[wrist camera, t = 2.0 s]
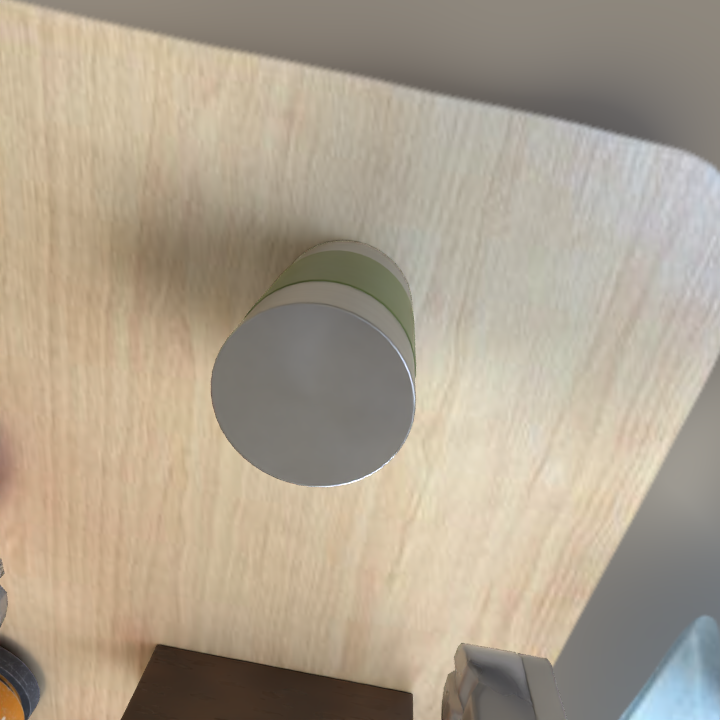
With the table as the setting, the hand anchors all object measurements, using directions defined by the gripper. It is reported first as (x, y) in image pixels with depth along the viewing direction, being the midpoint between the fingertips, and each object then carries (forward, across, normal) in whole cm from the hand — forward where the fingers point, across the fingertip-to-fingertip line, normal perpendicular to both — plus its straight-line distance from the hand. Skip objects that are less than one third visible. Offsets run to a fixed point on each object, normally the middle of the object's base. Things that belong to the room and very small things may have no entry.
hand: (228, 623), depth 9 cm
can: (+18, 0, 0) cm, 18 cm away
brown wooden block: (+18, 0, +29) cm, 34 cm away
